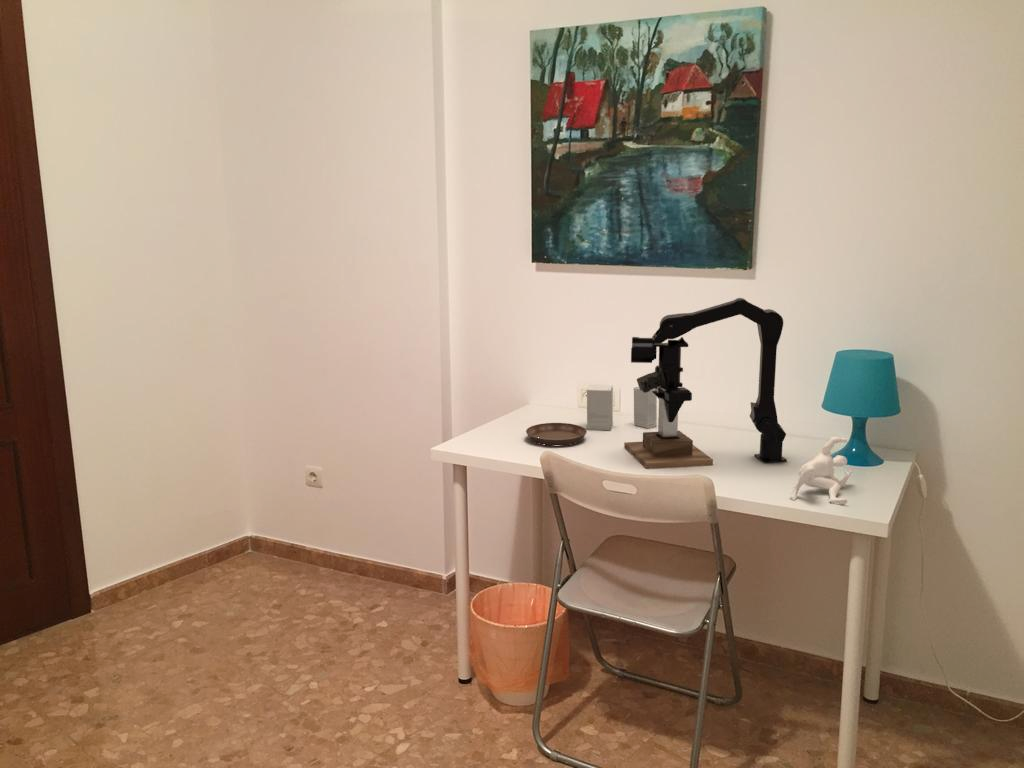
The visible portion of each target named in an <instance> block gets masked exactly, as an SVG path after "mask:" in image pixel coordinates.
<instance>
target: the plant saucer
mask: <svg viewBox="0 0 1024 768" xmlns="http://www.w3.org/2000/svg"><path fill="white" fill-rule="evenodd" d="M587 432H588V430H587V429H586V428H585V427H584V426H581V425H578V424H573V423H567V422H545V423H539V424H538V423H537V424H534V425H532V426H529V427H527V429H526V430H525V433H526V435H527V436H528V437H529V439H530V440H531V441H532V442H533V441H534V442H533V443H535V442H536V443H535V444H537V443H540V444H545V445H568V446H571V445H570V444H573V445H576V444H578V443H579V442H581V440H583V438H584V437H585V436H586V434H588V433H587ZM538 437H539V438H538ZM575 443H576V444H575ZM540 444H539V445H540ZM545 445H544V446H545Z"/></svg>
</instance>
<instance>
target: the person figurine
mask: <svg viewBox="0 0 1024 768" xmlns="http://www.w3.org/2000/svg"><path fill="white" fill-rule="evenodd" d="M847 442H848V438H846V436H845V437H839V436H832V437H831V438H829V441H827V442H826V443H824V445H823V446H822V447H821V450H820V452H819V453H818V454H816V456H815V457H814V458H813V459H811V460H809V461H807V462H805V464H802V466H801V467H800V470H799V471H798V475H799V477H798V481H797V483H796V485H794V487H793V489H792V491H791V493H790V494H789V498H790V500H792V501H796V500H795V499H797V498H798V497H797V496H798V493H799V490H800V488H801V487H802V486H803V485H806V486H807V487H811V488H817V489H823V490H828V496H829V500H828V502H829V503H830V502H831V503H830V504H833V503H839V504H845V505H846V504H847V503H848V501H849V500H848V499H844V498H838V497H837V495H838V493H839V491H840V489H842V488H843V487H844V486H845V485H846V483H847V482H848V480H849V478H850V477H851V475H852V473H853V470H851V469H849V468H847V469H846V471H845V476H844V477H843V478H842V479H841V480H839V478H837V477H835V476H834V475H835V474H834V473H835V468H834V467H837V468H839V467H844V466H846V465H847V464H848V459H847V457H846V456H843V455H839V454H837V455H835V457H832V455H831V451H832V450H833V448H834V447H835V444H838V443H847ZM839 504H838V505H839Z"/></svg>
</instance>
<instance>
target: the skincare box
mask: <svg viewBox="0 0 1024 768" xmlns="http://www.w3.org/2000/svg"><path fill="white" fill-rule="evenodd" d="M652 391H655V388H654V389H652V390H650V391H649V392H646V393H644V392H643V391H641V390H640V388H639V386H635V387H633V424H634V426H636V427H642V428H646V429H653V428H656V427H657V426H658V425H657V424H658V422H657V418H658V414H657V411H658V409H657V406H658V405H657V402H658V401H657V398H658V397H657V396H656V395H655V394H654V393H652Z"/></svg>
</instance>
